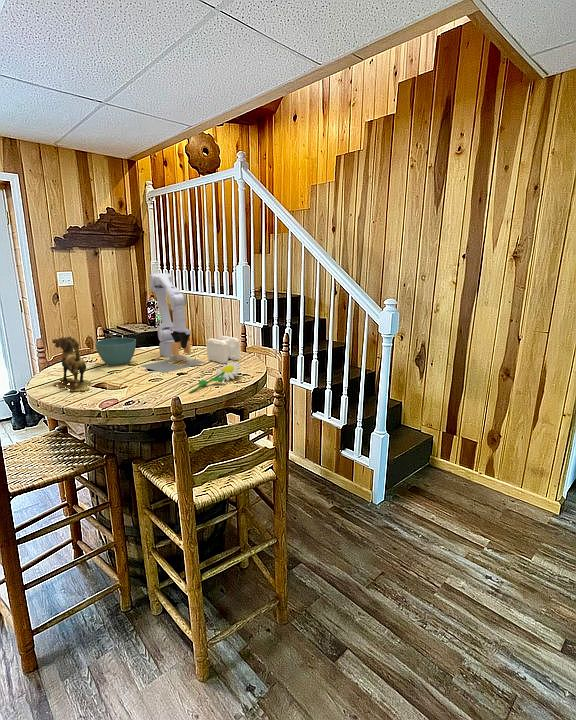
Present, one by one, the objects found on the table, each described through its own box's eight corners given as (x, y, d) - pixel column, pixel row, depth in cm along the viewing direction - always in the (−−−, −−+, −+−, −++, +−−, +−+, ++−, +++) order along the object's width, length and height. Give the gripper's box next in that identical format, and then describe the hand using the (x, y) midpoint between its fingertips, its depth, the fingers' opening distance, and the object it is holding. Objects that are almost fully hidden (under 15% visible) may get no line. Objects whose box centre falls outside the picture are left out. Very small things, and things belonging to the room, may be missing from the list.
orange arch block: (172, 355, 197) (171, 343, 196) (186, 352, 203) (185, 340, 202) (177, 356, 195) (176, 344, 193) (190, 353, 201) (190, 341, 199)
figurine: (81, 376, 183) (75, 332, 178) (100, 389, 165) (93, 340, 160) (49, 382, 175) (41, 335, 170) (65, 396, 157) (57, 344, 152)
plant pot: (133, 359, 213) (130, 336, 210) (142, 366, 198) (139, 342, 195) (95, 364, 203) (92, 340, 200) (102, 372, 189) (98, 346, 186)
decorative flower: (203, 401, 156) (248, 372, 180) (200, 390, 155) (246, 362, 179) (179, 397, 163) (226, 370, 187) (176, 386, 161) (224, 360, 185)
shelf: (140, 368, 194) (139, 359, 193) (182, 359, 212) (182, 350, 211) (163, 376, 182) (162, 366, 181) (206, 365, 199) (206, 355, 198)
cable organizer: (241, 361, 207) (240, 338, 204) (224, 365, 200) (223, 342, 197) (222, 356, 217) (221, 335, 214) (206, 360, 210) (205, 338, 207)
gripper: (163, 319, 197) (165, 346, 200) (181, 322, 187) (183, 350, 191) (175, 317, 202) (177, 344, 205) (193, 320, 193) (195, 348, 196)
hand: (181, 347), depth 198 cm, fingers closed on orange arch block, 4 cm apart
